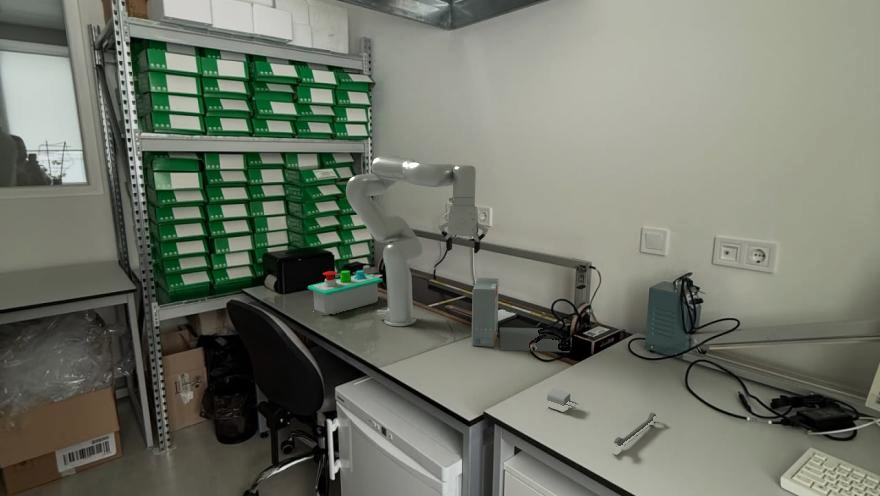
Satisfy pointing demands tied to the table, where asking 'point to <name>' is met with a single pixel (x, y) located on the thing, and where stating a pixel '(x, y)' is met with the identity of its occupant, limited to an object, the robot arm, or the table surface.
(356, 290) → the control panel
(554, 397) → the usb wall charger
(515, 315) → the phone case
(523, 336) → the mat
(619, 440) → the combination wrench
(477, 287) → the hard drive box
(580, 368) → the table surface
